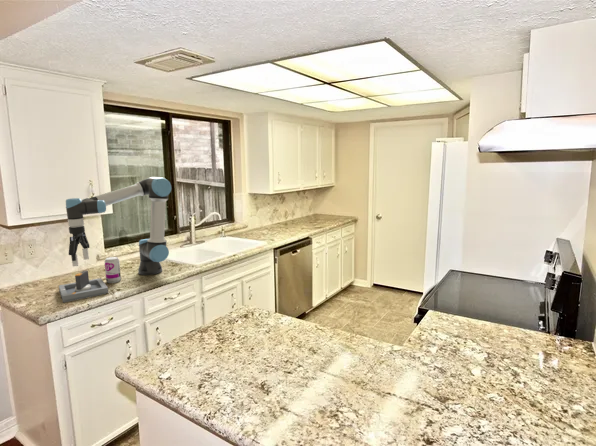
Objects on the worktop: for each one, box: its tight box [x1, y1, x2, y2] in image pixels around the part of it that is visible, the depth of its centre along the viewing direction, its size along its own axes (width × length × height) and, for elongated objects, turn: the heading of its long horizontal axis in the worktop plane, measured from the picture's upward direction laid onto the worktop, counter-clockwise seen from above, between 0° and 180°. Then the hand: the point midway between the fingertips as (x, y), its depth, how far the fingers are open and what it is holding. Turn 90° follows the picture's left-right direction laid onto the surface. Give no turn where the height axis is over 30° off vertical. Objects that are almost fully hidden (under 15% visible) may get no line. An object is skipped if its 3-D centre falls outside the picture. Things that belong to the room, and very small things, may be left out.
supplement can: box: [104, 256, 122, 284], centre depth 229 cm, size 8×8×15 cm
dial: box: [74, 270, 91, 292], centre depth 210 cm, size 10×8×10 cm
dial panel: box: [58, 277, 109, 304], centre depth 211 cm, size 22×22×4 cm
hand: (81, 262), depth 209 cm, fingers open, 13 cm apart
